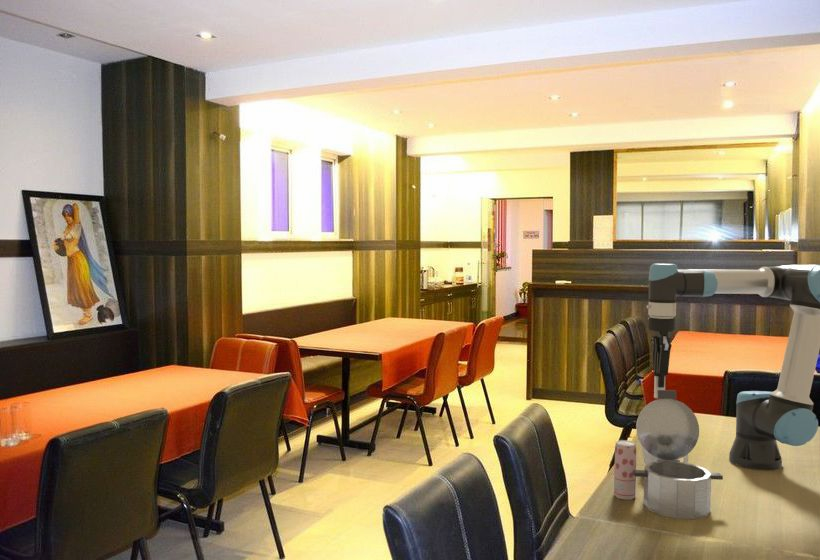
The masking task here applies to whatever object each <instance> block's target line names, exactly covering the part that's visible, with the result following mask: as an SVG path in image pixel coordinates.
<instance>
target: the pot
mask: <svg viewBox="0 0 820 560" xmlns="http://www.w3.org/2000/svg"><path fill="white" fill-rule="evenodd" d="M633 475H634V476H635V477H636V478H637V477H640V478H643V505H644V506H645V508H646V509H647V510H648V511H650V512H652V513H654V514H656V515H659V516H663V517H666V518H672V519H677V520H698V519H704V518H707V517H708V516H709V514H710V513H711V507H712V505H711V504H712V503H711V498H712V496H711V495H712V494H711V493H712V480H716V481H717V480H720V481H721V480H723V478H724V477H723V476H724V475H722V473H720V472H710V471H709V470H708V469H707V468H705V467H702V466H699V465H697V464H695V463H690V462H688V463H684V462H683V461H680V462H679V461H656V462H650V463H648V464H647V465H644V468H643V469H642V470H641V469H636V470H633Z"/></svg>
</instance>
